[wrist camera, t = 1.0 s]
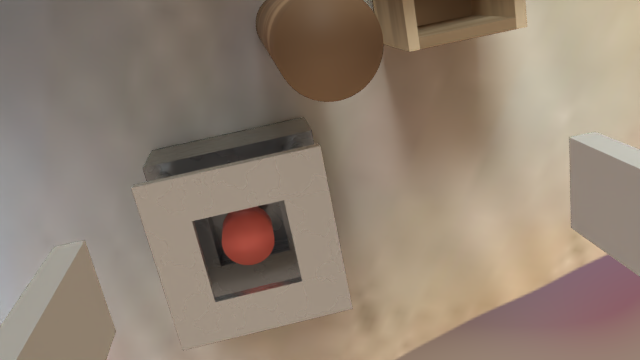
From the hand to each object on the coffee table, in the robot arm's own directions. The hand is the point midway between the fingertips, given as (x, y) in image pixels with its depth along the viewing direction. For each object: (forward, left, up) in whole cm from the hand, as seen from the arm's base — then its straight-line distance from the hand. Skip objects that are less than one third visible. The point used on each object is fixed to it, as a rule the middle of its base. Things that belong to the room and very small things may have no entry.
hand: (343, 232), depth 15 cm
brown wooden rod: (-4, +1, -23) cm, 23 cm away
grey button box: (+7, -4, -23) cm, 24 cm away
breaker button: (+7, -4, -19) cm, 20 cm away
